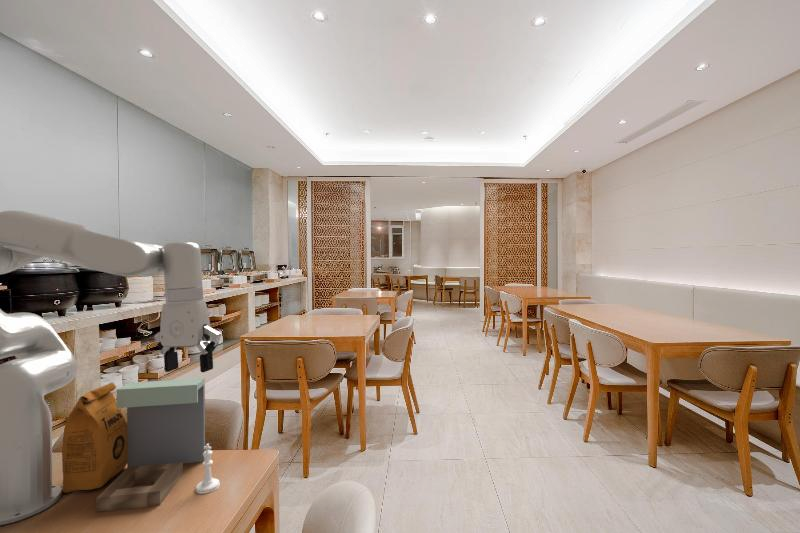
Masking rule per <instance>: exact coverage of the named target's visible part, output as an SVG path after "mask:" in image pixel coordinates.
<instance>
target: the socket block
mask: <svg viewBox="0 0 800 533" xmlns="http://www.w3.org/2000/svg"><path fill="white" fill-rule="evenodd" d="M183 464H184V463H183V462H178V463H167V464H157V465H146V466H135V467H128V468H127V467H126V469H125V470H123V472H121V474H120V475H119V476H117V478H116V479H115V480H113V481H112V483H110V484H109V486H107V487H106V488H105V489H104V490H103V491H102V492H101V493H100V494H99V495H98V496H97V497H96V498H95V499H96V500H95V501H96V513H102V512H109V511H119V510H129V509H137V508H144V507H145V508H147V507H154V506H155V507H156V506H161V504H162V503H163V502H164V501H165V499H166V497H167V496H168V495H169V494H170V492H171V491H172V490H173V488H174V487H175V485H176V484H177V482H179V480H180V479H181V477H182V476H183V475H184V465H183ZM151 483H152V484H153V485H145V486H136V487H134V486H135V485H140V484H141V485H143V484H151Z"/></svg>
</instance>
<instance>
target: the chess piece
mask: <svg viewBox="0 0 800 533" xmlns="http://www.w3.org/2000/svg"><path fill="white" fill-rule="evenodd" d="M204 449H205V452H204V453H203V456H204V459H205V461H204V462H202V466H203V467H204V476H203V479H202V481H200V482H199V483H197V485H196V487H195V492H196V493H197V494H202V495H205V494H209V493H212V492H214V491H216V490H217V489H218V488H219V487H220V485H221V484H220V483H221V482H220V479H218V478H215V477H213V476H212V469H211V465H212V464H213V463H214V461H213V460H212V455H213V450H212V446H210V443H205V446H204Z"/></svg>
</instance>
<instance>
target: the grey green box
mask: <svg viewBox="0 0 800 533" xmlns="http://www.w3.org/2000/svg"><path fill="white" fill-rule="evenodd" d="M205 380H206V379H205V378H204V377H203V378H188V379H186V378H185V379H170V380H152V381H151V380H150V381H135V382H134V381H133V382H128V383H126V384H124V385H123V386H121V387H119V388H116V403H117V408H121V409H123V408H124V409H125V408H126V418H127V465H126V466H127V467H126V469H127V468H128V467H135V466H146V465H157V464H167V463H178V462H183V464H191V463H192V464H193V463H203V462H205V459H204V456H203V453H204V452H205V451H206V449H204V446H206V402H205V401H206V400H205V399H206V398H205V397H206V388H205V387H206V385H205V384H206V381H205Z"/></svg>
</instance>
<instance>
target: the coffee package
mask: <svg viewBox="0 0 800 533" xmlns="http://www.w3.org/2000/svg"><path fill="white" fill-rule="evenodd" d="M115 389H117V386H116V385H115V383H114V382H113V381H112V382H109V383H107V384H104V385H103V386H100V387H98V388H95V389H93V390H90V391H88V392H87V393H85V394H83V395H81V396H80V397H79V398H78V400H77V402H76V404H75V405H74V406H73V408H72V410H71V412H70V413H69V414H68V417H67V418H66V421H65V423H64V428H63V433H62V448H61V449H62V451H61V460H62V461H61V464H62V465H61V466H62V469H61V470H62V493H63V494H68V493H71V492H72V493H73V492H77V491H83V490H84V491H91V490H95V489H99V488H102V487H103V486H104V485H106V483H107V482H108V481H109V480H110V481H111V479H112V478H114V476H116V475H118V474H119V473H120V472H121V471H122V470H123V469H124V468H125V467H126V466H127V414H126V413H125V412H124V411H123V408H117V399H116V398H115V396H114V393H112V391H114V390H115Z"/></svg>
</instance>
